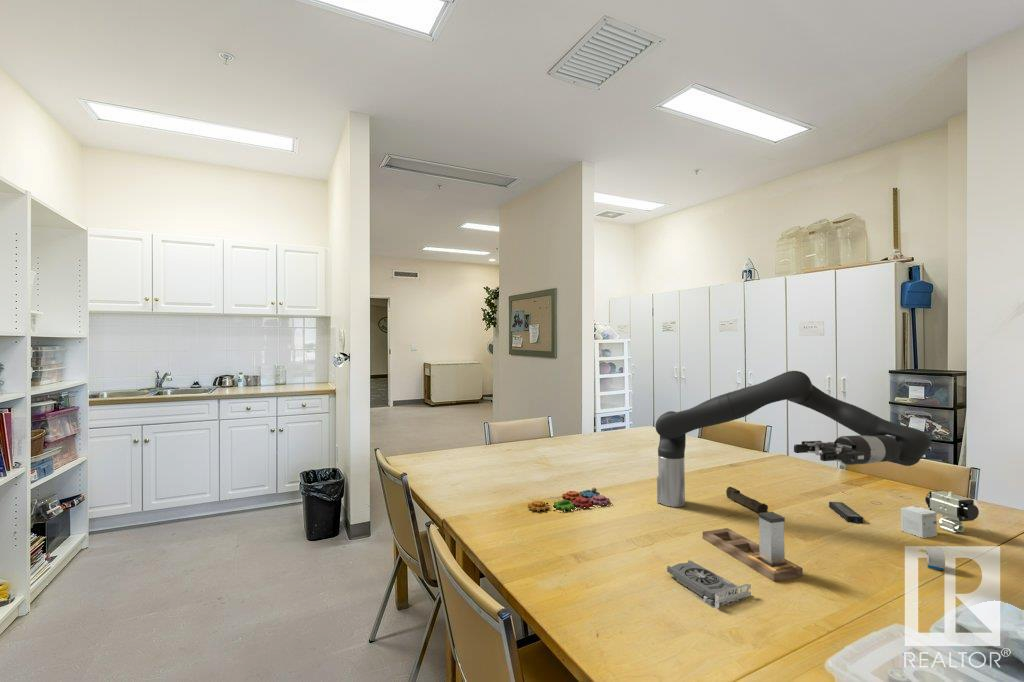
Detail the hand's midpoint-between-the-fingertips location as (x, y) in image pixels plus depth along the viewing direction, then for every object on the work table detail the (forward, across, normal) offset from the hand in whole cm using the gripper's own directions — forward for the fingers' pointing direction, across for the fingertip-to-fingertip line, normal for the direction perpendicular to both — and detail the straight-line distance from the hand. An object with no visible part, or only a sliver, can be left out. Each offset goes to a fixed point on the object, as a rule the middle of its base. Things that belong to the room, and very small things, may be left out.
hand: (807, 452), depth 121 cm
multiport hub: (-41, -27, +30) cm, 57 cm away
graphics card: (+32, +4, +31) cm, 45 cm away
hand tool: (-13, -42, +30) cm, 53 cm away
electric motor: (-30, +8, +30) cm, 43 cm away
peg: (+11, 0, +30) cm, 32 cm away
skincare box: (-48, -10, +30) cm, 58 cm away
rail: (+12, -8, +30) cm, 33 cm away
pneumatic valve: (-60, -9, +30) cm, 67 cm away
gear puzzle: (+48, -58, +31) cm, 81 cm away
